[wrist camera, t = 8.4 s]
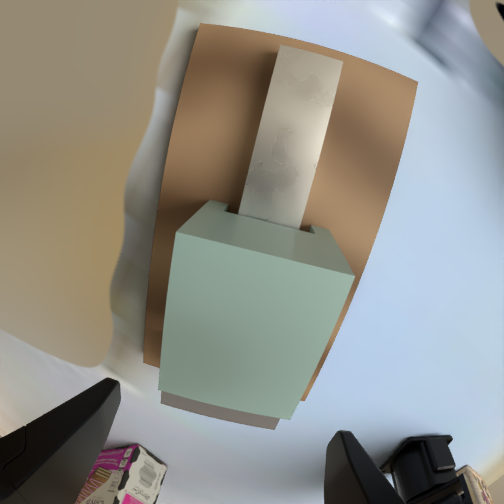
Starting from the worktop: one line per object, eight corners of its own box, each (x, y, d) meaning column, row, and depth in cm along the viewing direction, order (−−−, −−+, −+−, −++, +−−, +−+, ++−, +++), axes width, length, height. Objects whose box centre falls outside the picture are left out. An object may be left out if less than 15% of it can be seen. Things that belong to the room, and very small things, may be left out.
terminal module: (287, 348, 19) (289, 419, 14) (187, 324, 19) (158, 389, 13) (329, 229, 16) (355, 276, 11) (209, 199, 16) (176, 231, 11)
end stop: (275, 386, 20) (274, 429, 17) (177, 363, 20) (160, 403, 17) (285, 360, 20) (286, 405, 16) (180, 335, 19) (162, 375, 16)
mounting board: (303, 391, 22) (304, 401, 21) (147, 354, 22) (143, 362, 21) (410, 84, 14) (418, 82, 13) (204, 29, 14) (200, 23, 13)
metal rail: (247, 380, 20) (245, 395, 19) (205, 370, 20) (200, 385, 19) (337, 68, 13) (343, 61, 12) (280, 52, 13) (280, 44, 12)
